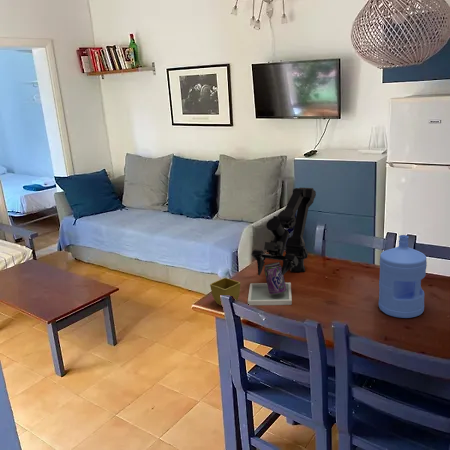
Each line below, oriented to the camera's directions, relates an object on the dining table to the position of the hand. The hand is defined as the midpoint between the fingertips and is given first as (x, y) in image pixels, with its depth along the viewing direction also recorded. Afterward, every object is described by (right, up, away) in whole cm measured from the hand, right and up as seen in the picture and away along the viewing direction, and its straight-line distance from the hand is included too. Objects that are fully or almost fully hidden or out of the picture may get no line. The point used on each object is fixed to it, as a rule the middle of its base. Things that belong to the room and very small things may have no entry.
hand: (269, 276), depth 188 cm
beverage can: (+4, -7, 0) cm, 8 cm away
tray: (+1, -8, +2) cm, 8 cm away
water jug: (+47, -10, -16) cm, 50 cm away
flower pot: (-17, -11, -2) cm, 20 cm away
